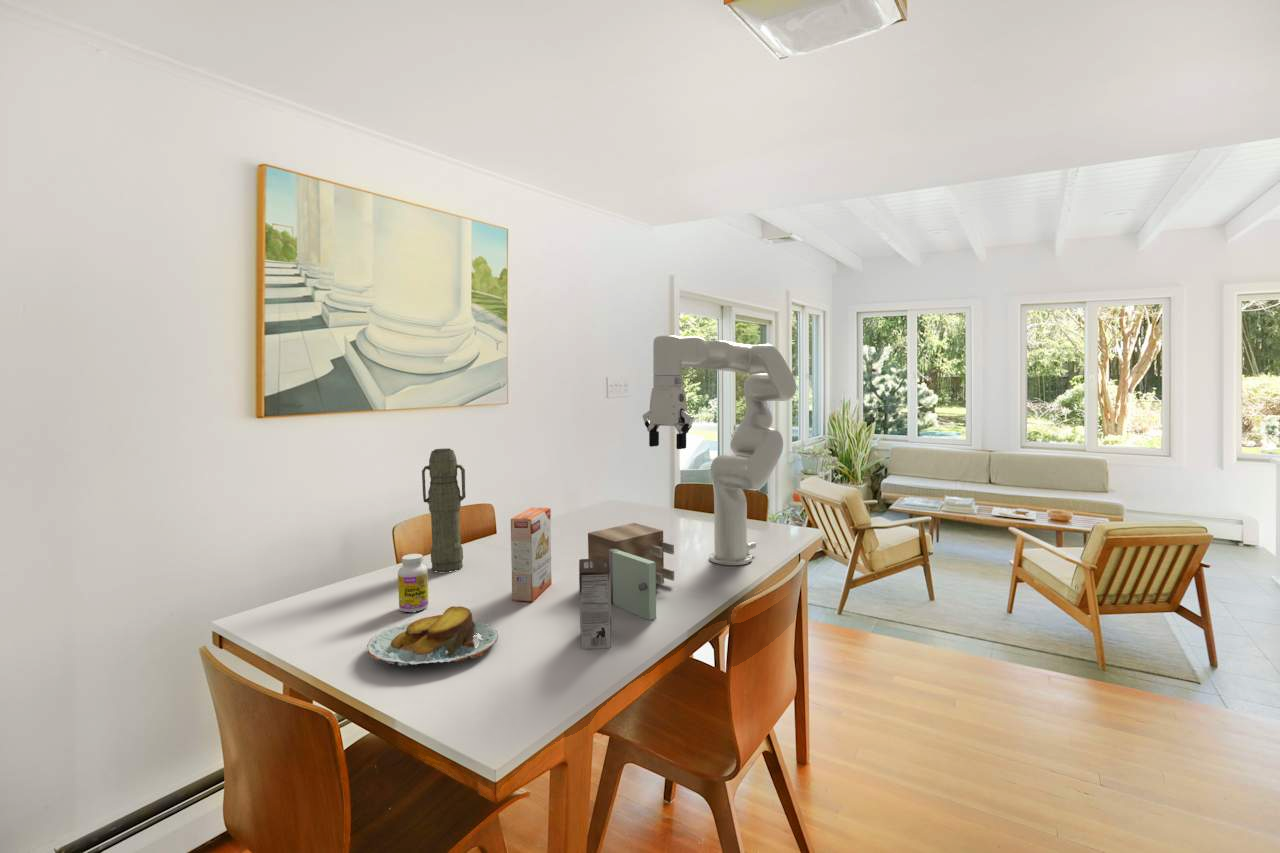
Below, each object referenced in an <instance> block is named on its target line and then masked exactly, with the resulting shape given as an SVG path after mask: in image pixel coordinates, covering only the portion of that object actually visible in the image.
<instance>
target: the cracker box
mask: <svg viewBox="0 0 1280 853" xmlns="http://www.w3.org/2000/svg"><path fill="white" fill-rule="evenodd" d="M551 510H552V509H551V508H550V507H530V508H528V509H525V510H524V511H522V512H521V513H519V514H517V515H515V516H513V517H511V518H510V555H511V557H510V559H511V561H510V563H511V600H512V601H515V602H528V603H529V602H531V603H533V602H535V600H536V599H537V598H538V597H539V596H541V595H542V594H543V592H545V591H546V590H547V589H548V588H549V587H550V586H551V585H552V529H551V528H552V527H551V525H552V524H551V523H552V522H551V521H552V520H551V519H552V517H551V516H552V515H551V512H552V511H551Z"/></svg>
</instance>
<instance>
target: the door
mask: <svg viewBox="0 0 1280 853" xmlns="http://www.w3.org/2000/svg"><path fill="white" fill-rule="evenodd" d="M609 566H610V585H611V605H614V606H617V607H619V608H620V609H623V610H625V611H627V612H630V613H632V614H633V615H637V616H639V617H641V618H643V619H645V620H648V621H652V620H655V619H657V584H656V565H655V562H653V561H650V560H647V559H644V558H641V557H638V556H635V555H632V554H629V553H626V552H623V551H620V550H618V549H610V550H609Z"/></svg>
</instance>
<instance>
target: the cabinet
mask: <svg viewBox="0 0 1280 853" xmlns="http://www.w3.org/2000/svg"><path fill="white" fill-rule="evenodd" d="M610 549H618V550H620V551H623V552H626V553H629V554H632V555H635V556H638V557H641V558H644V559H647V560H650V561H653V562H655V565H656V585H663V583H664V582H665V580H669V581H675V570H672V569H669V568H667V567H665V566H664V563H665V562H664V553H665V554H668V555H669V554H670V555H672V556H673V555H674V554H675V544H673V543H669V542H667V541H666V542H665V541H664V530H663V529H659V528H656V527H651V526H648V525H644V524H640V523H636V522H632V523H628V524H623V525H618V526H613V527H609V528H605V529H599V530H595V531H590V532H588V533H587V551H588V552H587V553H588V554H587V555H588V558H587V559H608V560H609V550H610Z"/></svg>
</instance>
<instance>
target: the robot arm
mask: <svg viewBox="0 0 1280 853" xmlns="http://www.w3.org/2000/svg"><path fill="white" fill-rule="evenodd" d="M652 344H653V349H652V351H653V352H652V353H653V354H652V355H653V357H652V360H653V364H652V365H653V366H652V368H653V369H652V370H653V371H652V372H653V377H652V378H653V379H652V381H653V383H652V384H653V385H652V386H653V387H652V388H651V394H650V400H649V410H648V411H647V412H645V413H644V414H643V415H642V419H643V422H644V426H645V428H646V431H647V432H648V433H649V434H648V437H649V438H648V444H649V447H652V448H653V447H659V445H660V432H659V430H658V429H659V428H660V426H663V427H664V426H665V427H674V428H675V429H676V431H677V433H676V437H675V438H676V439H675V440H676V443H675V444H676V445H675V446H676V449H677V450H684V449H686V448H687V434H689V430H690V429H691V428H692V425H693V423H694V420H695V416H693V415H692V414H690V413H689V412H688V403H687V395H686V390H685V388H684V387H682V386H683V385H682V384H684V383H685V379H684V378H683V375H682V372H683V370H682V369H683V368H693V369H694V368H696V369H704V370H710V371H723V372H731V373H733V372H734V373H740V374H750V375H749V376H747V377H746V378H745V380H744V383H743V394H744V398H745V403H746V404H745V405H746V409H745V410H746V412H745V414H744V416H743V418H742V420H741V422H740V423H739V425H738V427H737V429H736V430H735V432H734V434H733V436H732V437H731V441H730V450H731V452H732V453H731V454H730V453H725V454H723V453H722V454H721V455H717V456H716V457H715V458H714V459H713V460H712V462H711V465H710V477H711V481H712V482H711V483H712V486H713V487H712V488H713V499H714V500H713V501H714V502H713V504H714V505H713V506H714V507H713V508H714V510H713V512H714V516H713V518H714V519H713V520H714V521H713V522H714V530H713V531H714V551H713V552H711V553H710V554H709V556H708V558H709V560H710V561H711V562H713V563H715V564H717V565H723V566H742V565H743V566H744V565H747V564H750V563H751V562H752V560H753V556H752V554H750V553H749V551H750V550H753V549H756V548H757V544H756V542H754V541H753V542H747V541H748V540H747V539H748V538H747V537H748V534H747V532H748V529H747V527H748V526H747V525H748V524H747V519H748V517H747V515H748V514H747V511H748V510H747V508H748V505H747V497H746V494H745V492H744V490H747V491H757V490H761V489H762V488H763V487H764V486H765V485H766V484H767V482H768V480H769V479H770V477H771V475H772V473H773V471H774V469H775V467H776V466H777V464H778V461H779V459H780V458H781V455H782V452H783V449H784V439H783V436H782V434H781V432H780V431H779V430H778V429H775V428H773V427H771V426H772V423H773V415H772V412H771V410H770V407H769V405H768V402H767V401H769V402H786V401H789V400H791V399H792V398H794V396H795V394H796V391H797V384H796V383H797V382H796V379H795V377H794V375H793V372H792V371H791V369H790V367H789V365H788V364H787V361H786V360H785V358H784V357H783V355H782V353H781V352H780V350H778V348H776V347H775V346H774V345H772V344H770V343H762V344H759V343H758V344H744V343H737V342H733V341H727V340H706V339H704V338H703V337H700V336H698V335H692V336H678V335H671V334H670V335H668V334H667V335H665V334H664V335H658V336H656V337H654V339H653V343H652ZM749 562H750V563H749Z"/></svg>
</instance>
